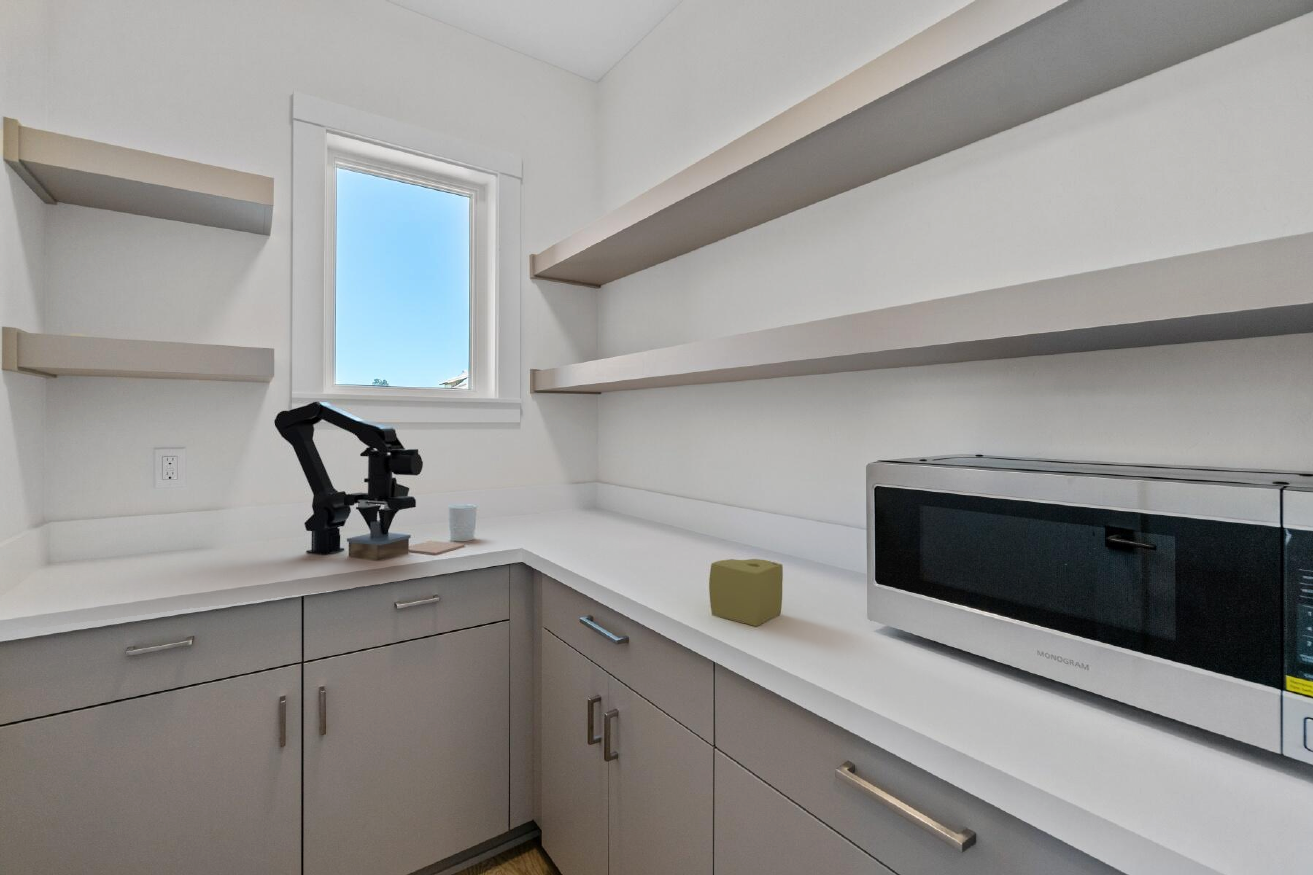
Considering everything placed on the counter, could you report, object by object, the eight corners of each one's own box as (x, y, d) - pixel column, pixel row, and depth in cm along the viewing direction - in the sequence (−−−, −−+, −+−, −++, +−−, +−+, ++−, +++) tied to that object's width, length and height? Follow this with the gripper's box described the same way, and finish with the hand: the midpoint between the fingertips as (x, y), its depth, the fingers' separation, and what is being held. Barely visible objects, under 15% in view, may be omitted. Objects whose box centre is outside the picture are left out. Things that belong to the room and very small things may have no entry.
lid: (346, 544, 148) (347, 522, 148) (379, 537, 158) (379, 516, 158) (379, 548, 145) (379, 526, 145) (410, 540, 155) (410, 519, 155)
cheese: (736, 603, 118) (737, 554, 118) (785, 615, 111) (786, 563, 111) (707, 615, 110) (708, 562, 110) (757, 629, 103) (759, 573, 103)
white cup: (470, 542, 170) (471, 508, 170) (444, 541, 170) (444, 507, 170) (479, 537, 178) (480, 504, 178) (454, 536, 178) (454, 504, 178)
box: (348, 557, 149) (348, 541, 148) (378, 549, 158) (379, 534, 158) (379, 560, 145) (379, 545, 145) (408, 552, 155) (408, 537, 155)
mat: (399, 550, 157) (399, 548, 157) (430, 542, 168) (430, 540, 168) (435, 555, 153) (435, 552, 153) (464, 546, 164) (464, 544, 164)
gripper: (431, 473, 156) (430, 531, 156) (376, 470, 162) (375, 526, 162) (400, 476, 145) (399, 539, 146) (342, 473, 151) (341, 532, 152)
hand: (379, 533), depth 152 cm, fingers open, 3 cm apart
